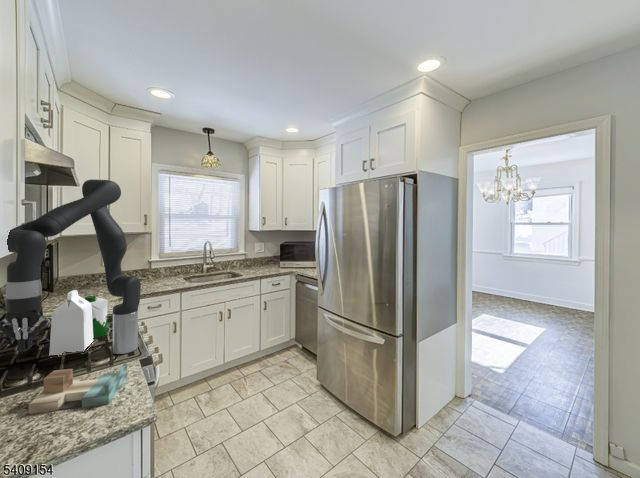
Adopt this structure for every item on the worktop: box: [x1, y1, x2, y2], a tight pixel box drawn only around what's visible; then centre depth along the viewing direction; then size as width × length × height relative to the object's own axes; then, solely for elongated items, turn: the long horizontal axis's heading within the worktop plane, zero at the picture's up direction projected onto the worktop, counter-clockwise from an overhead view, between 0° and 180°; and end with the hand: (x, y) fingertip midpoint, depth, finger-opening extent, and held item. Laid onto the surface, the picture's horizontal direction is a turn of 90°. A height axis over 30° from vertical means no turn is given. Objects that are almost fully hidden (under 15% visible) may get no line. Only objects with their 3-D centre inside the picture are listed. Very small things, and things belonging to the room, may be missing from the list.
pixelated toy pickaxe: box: [28, 363, 128, 415], centre depth 89 cm, size 14×20×6 cm
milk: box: [48, 289, 94, 357], centre depth 120 cm, size 12×12×26 cm
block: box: [42, 368, 74, 394], centre depth 87 cm, size 5×5×5 cm
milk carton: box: [84, 295, 109, 339], centre depth 135 cm, size 9×9×20 cm
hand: (24, 349), depth 85 cm, fingers closed
